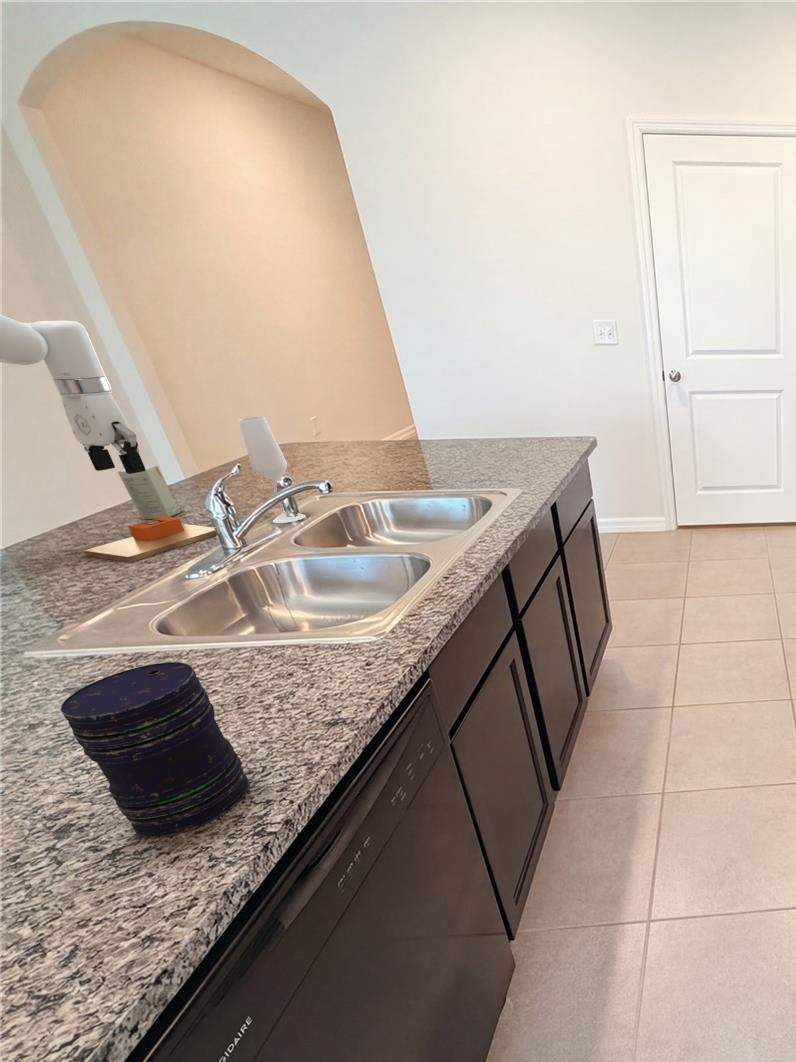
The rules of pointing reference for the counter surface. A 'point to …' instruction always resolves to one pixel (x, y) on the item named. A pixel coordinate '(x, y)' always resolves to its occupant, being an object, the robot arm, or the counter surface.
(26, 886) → the counter surface
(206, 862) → the counter surface
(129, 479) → the cosmetic box
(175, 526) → the orange block
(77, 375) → the robot arm
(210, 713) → the stacked disc cylinder
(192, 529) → the base pad
